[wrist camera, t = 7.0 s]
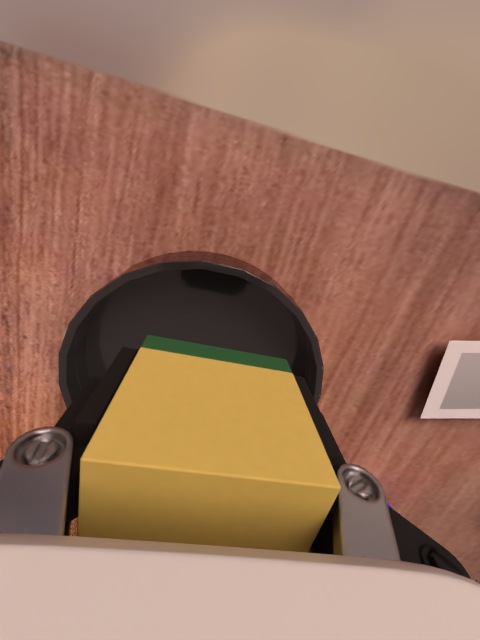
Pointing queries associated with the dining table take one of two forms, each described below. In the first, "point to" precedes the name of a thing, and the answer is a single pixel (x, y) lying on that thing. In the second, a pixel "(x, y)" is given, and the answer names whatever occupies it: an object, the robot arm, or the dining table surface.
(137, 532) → the sponge
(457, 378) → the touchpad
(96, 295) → the pan
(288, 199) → the dining table surface
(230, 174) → the dining table surface
